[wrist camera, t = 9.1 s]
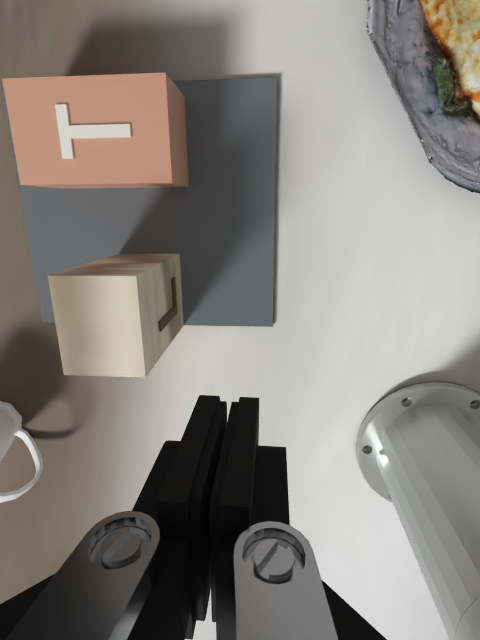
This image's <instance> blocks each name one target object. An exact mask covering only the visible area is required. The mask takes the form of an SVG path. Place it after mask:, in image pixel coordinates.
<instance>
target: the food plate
mask: <svg viewBox="0 0 480 640" xmlns="http://www.w3.org/2000/svg"><path fill="white" fill-rule="evenodd" d="M367 2H368V17H367V28H369V29H368V30H366V31H368V33H369V34H370V39H371V41H372V44H373V42H374V44H373V46H374V48H375V47H376V48H375V50H376V52H377V54H378V56H379V58H380V60H381V62H382V64H383V66H384V68H385V70H386V72H387V75H388V76H389V79H390V81H391V83H392V87H393V88H394V90H395V92H396V95H397V96H398V98H399V100H400V102H401V104H402V106H403V108H404V110H405V112H406V114H407V116H408V118H409V120H410V122H411V125H412V126H413V129H414V131H415V133H416V135H417V136H418V138H419V140H420V143H421V144H422V147H423V149H424V151H425V153H427V154H428V155H427V154H426V156H427V158H428V157H429V156H431V159H430V160H429V159H428V160H429V162H430V164H431V163H432V165H433V166H434V167H435V168H437V170H439V172H440V173H441V174H442V175H444V177H445V179H447V180H449V181H451V182H453V183H454V184H456V185H457V186H459V187H462V188H465V189H467V190H469V191H471V192H476V193H477V192H478V193H480V0H367ZM368 33H367V34H368ZM373 40H374V41H373Z"/></svg>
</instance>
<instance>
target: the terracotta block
mask: <svg viewBox="0 0 480 640" xmlns="http://www.w3.org/2000/svg"><path fill="white" fill-rule="evenodd" d="M2 81H3V87H4V92H5V98H6V104H7V110H8V116H9V121H10V127H11V133H12V139H13V145H14V150H15V156H16V162H17V168H18V174H19V180H20V185H27V186H38V187H50V188H61V189H68V188H145V187H189V180H188V158H187V137H186V115H185V97H184V96H183V94H182V93H181V92H180V90H179V89H178V88H177V87H176V85H175V84H174V83H173V81H172V80H171V79H170V78H169V76H168V75H167V74H166V73H140V74H113V75H87V76H60V77H33V78H6V79H2Z"/></svg>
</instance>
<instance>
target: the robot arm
mask: <svg viewBox="0 0 480 640" xmlns="http://www.w3.org/2000/svg"><path fill="white" fill-rule="evenodd" d="M404 398H405V399H404ZM258 435H259V398H250V397H240V398H239V402H232V404H231V408H230V413H229V417H228V422H227V402H225V401H220V397H219V396H207V395H200V396H199V398H198V400H197V402H196V405H195V407H194V410H193V412H192V415H191V417H190V420H189V422H188V425H187V427H186V430H185V432H184V434H183V437H182V439H181V441H166V442H165V443H164V445H163V447H162V449H161V451H160V453H159V455H158V457H157V459H156V461H155V463H154V466H153V468H152V470H151V472H150V474H149V476H148V478H147V480H146V482H145V484H144V487H143V489H142V491H141V493H140V495H139V497H138V499H137V501H136V503H135V506H134V508H133V510H132V511H125V512H119V513H116V514H113V515H111V516H108V517H106V518H104V519H103V520H101V521H100V522H98V523H97V524H95V525H94V526H93V527H92V528H91V529H90V530H89V531H88V532H87V533H86V535H85V536H84V537H83V539H82V540H81V541H80V542H79V544H78V545H77V546H76V548H75V549H74V550H73V552H72V553H71V554H70V556H69V557H68V558H67V559H66V561H65V562H64V563H63V565H62V566H61V567H60V569H59V570H58V571H57V572H56V573H55V574H54V575H52V576H50V577H48V578H46V579H45V580H43V581H41V582H39V583H38V584H36V585H34V586H32V587H30V588H29V589H27V590H25V591H23V592H21V593H20V594H18V595H16V596H14V597H13V598H11V599H9V600H7V601H5V602H4V603H2V604H0V640H185V639H193V634H194V629H195V624H196V620H200V621H204V620H205V618H206V613H207V607H208V601H209V595H210V589H211V601H212V622H216V633H217V640H387V639H386V638H384V637H383V636H382V635H381V634H380V633H379V632H378V631H377V630H376V629H375V628H374V627H372V626H371V625H370V624H369V623H368V622H367V621H366V620H365V619H364V618H363V617H362V616H360V615H359V614H358V613H357V612H356V611H355V610H354V609H353V608H352V607H351V606H350V605H349V604H347V603H346V602H345V601H344V600H343V599H342V598H341V597H340V596H339V595H338V594H337V593H335V592H334V591H333V590H332V589H331V588H330V587H329V586H328V585H327V584H326V583H325V582H323V581H322V580H321V577H320V573H319V570H318V566H317V563H316V559H315V556H314V552H313V550H312V548H311V545H310V543H309V541H308V540H307V539H306V538H305V537H304V535H303V534H302V533H301V532H299V531H298V530H296V529H295V528H293V527H292V526H290V524H289V503H288V482H287V461H286V447H273V446H258ZM356 456H357V460H358V464H359V467H360V470H361V472H362V474H363V476H364V479H365V480H366V481H367V483H368V484H369V485H370V487H371V488H372V489H373V490H374V491H375V492H376V493H378V494H379V495H380V496H381V497H383V498H384V499H386V500H388V501H389V502H392V503H393V504H394V507H395V509H396V511H397V514H398V516H399V519H400V521H401V524H402V526H403V528H404V531H405V533H406V536H407V538H408V540H409V543H410V545H411V548H412V550H413V552H414V555H415V557H416V560H417V562H418V565H419V567H420V569H421V572H422V574H423V577H424V579H425V581H426V584H427V586H428V589H429V591H430V593H431V596H432V598H433V601H434V603H435V606H436V608H437V610H438V613H439V615H440V618H441V620H442V622H443V625H444V627H445V630H446V632H447V635H448V637H449V639H450V640H480V395H479V394H478V393H476V392H475V391H473V390H471V389H468V388H466V387H463V386H461V385H456V384H451V383H446V382H428V383H421V384H415V385H412V386H409V387H405V388H402V389H400V390H398V391H396V392H394V393H392V394H390V395H389V396H387V397H386V398H384V399H383V400H382V401H380V402H379V403H378V404H377V405H376V406H375V407H374V408H373V409H372V410H371V411H370V412H369V413H368V415H367V416H366V418H365V419H364V421H363V422H362V424H361V427H360V429H359V432H358V435H357V441H356Z"/></svg>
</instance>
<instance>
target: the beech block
mask: <svg viewBox="0 0 480 640" xmlns="http://www.w3.org/2000/svg"><path fill="white" fill-rule="evenodd" d="M48 281H49V287H50V293H51V299H52V305H53V311H54V317H55V323H56V330H57V336H58V342H59V348H60V354H61V360H62V366H63V372H64V375H82V376H118V377H146V376H147V375H148V373H149V372H150V371H151V369H152V368H153V366H154V365H155V364H156V362H157V361H158V360H159V358H160V357H161V355H162V354H163V353H164V351H165V350H166V349H167V347H168V346H169V345H170V343H171V342H172V340H173V339H174V338H175V336H176V335H177V334H178V332H179V331H180V329H181V328H182V327H183V325H184V321H183V304H182V286H181V268H180V254H116V255H113V256H109V257H106V258H103V259H100V260H96V261H93V262H90V263H87V264H83V265H80V266H77V267H74V268H70V269H67V270H64V271H61V272H58V273H54V274H51V275H48Z"/></svg>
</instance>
